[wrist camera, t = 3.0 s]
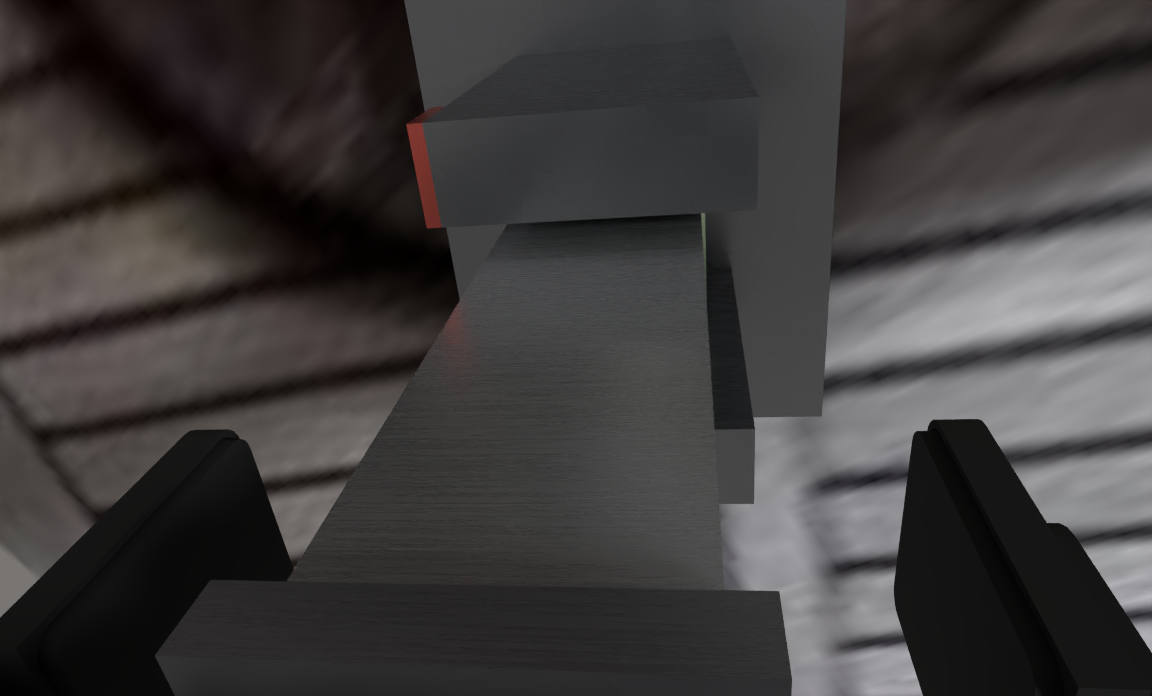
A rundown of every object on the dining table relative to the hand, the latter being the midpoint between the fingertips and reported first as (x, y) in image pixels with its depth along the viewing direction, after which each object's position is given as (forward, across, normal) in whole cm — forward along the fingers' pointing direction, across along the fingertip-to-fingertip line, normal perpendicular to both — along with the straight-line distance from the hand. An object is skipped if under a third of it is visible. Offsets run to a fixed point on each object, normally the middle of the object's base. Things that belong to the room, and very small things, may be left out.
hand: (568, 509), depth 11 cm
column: (+14, 0, 0) cm, 14 cm away
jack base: (+17, 0, 0) cm, 17 cm away
